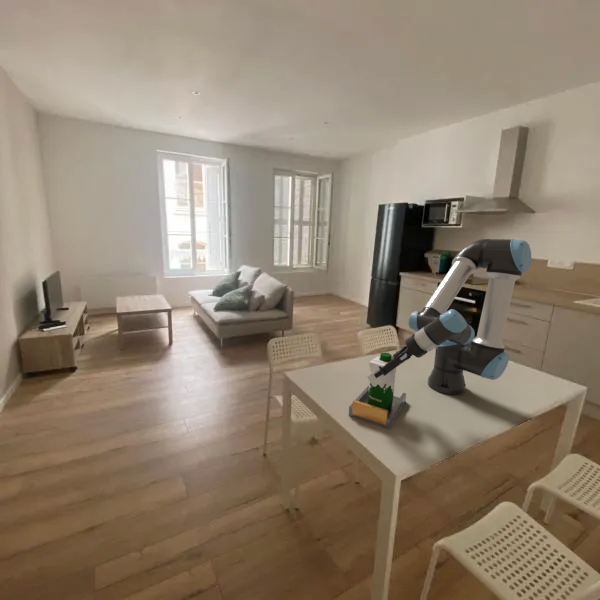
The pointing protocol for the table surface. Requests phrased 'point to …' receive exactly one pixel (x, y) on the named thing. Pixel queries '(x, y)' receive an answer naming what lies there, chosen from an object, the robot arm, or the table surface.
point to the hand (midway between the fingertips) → (375, 373)
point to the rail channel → (376, 410)
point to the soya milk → (381, 384)
